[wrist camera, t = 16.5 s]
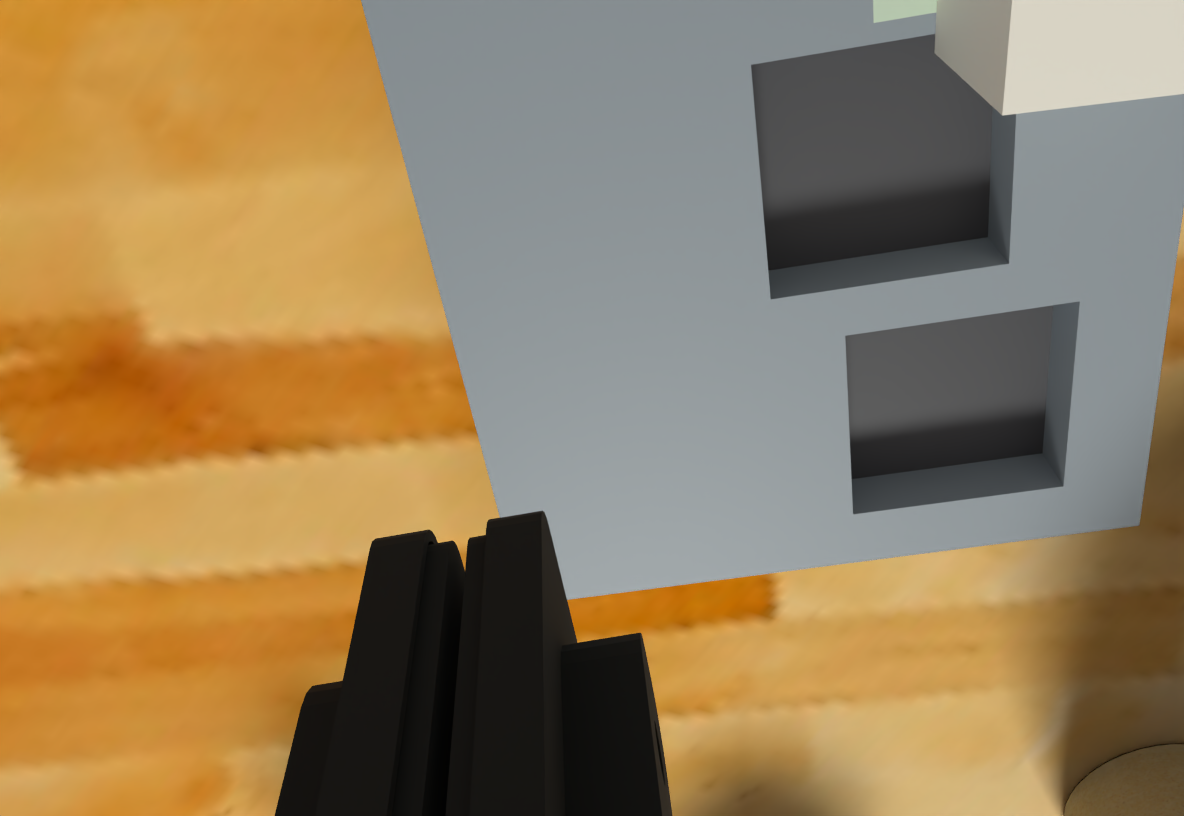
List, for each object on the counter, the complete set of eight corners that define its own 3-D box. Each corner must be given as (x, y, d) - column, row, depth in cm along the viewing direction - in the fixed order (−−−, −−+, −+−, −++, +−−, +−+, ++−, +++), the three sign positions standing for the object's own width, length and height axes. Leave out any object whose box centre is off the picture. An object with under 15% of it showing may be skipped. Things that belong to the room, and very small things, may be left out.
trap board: (526, 565, 37) (520, 660, 34) (309, -269, 24) (258, -268, 20) (1113, 487, 36) (1175, 578, 32) (1225, -453, 23) (1355, -489, 19)
